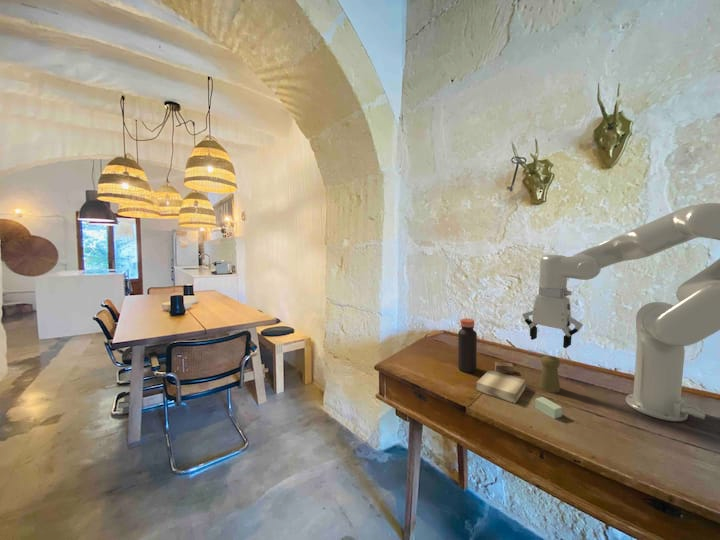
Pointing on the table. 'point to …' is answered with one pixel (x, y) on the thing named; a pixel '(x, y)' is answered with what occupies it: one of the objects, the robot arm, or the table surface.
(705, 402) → the table surface
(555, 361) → the cork
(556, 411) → the sage brick
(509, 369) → the walnut brick
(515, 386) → the beech board
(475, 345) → the bottle
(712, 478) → the table surface
